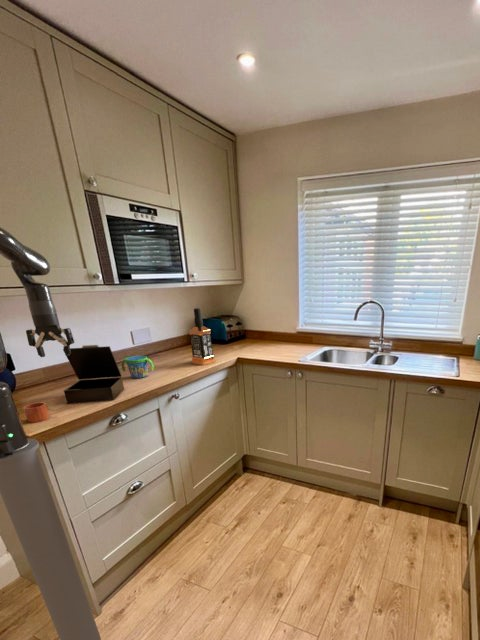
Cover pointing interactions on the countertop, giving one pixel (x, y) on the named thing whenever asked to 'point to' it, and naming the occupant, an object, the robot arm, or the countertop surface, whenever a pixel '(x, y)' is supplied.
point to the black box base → (94, 390)
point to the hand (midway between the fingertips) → (55, 356)
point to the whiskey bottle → (201, 341)
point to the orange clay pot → (36, 412)
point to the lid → (93, 362)
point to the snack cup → (137, 366)
